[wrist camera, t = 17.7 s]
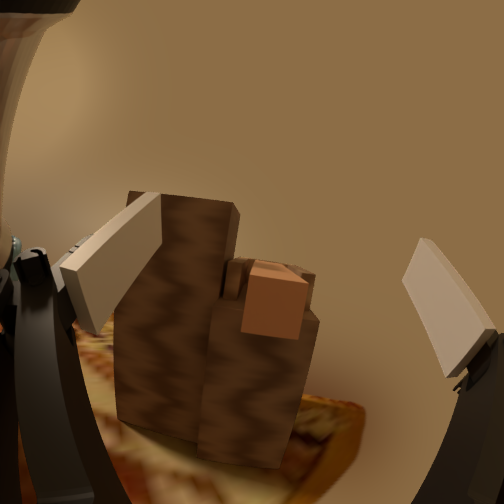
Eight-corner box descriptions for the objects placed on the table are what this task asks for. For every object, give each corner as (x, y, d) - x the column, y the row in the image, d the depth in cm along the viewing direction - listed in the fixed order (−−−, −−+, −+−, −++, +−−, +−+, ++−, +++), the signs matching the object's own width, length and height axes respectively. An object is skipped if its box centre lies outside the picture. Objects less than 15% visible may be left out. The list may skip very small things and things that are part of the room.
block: (240, 331, 18) (249, 274, 18) (251, 285, 42) (255, 259, 42) (298, 339, 18) (308, 283, 18) (276, 289, 42) (280, 263, 42)
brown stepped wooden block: (108, 429, 25) (116, 185, 25) (158, 370, 46) (175, 211, 46) (278, 469, 25) (337, 214, 24) (273, 392, 46) (303, 230, 45)
